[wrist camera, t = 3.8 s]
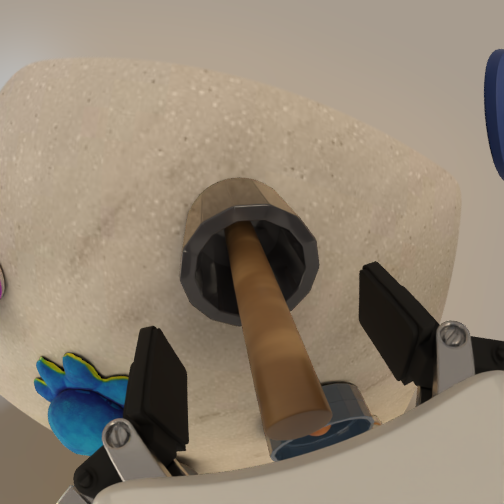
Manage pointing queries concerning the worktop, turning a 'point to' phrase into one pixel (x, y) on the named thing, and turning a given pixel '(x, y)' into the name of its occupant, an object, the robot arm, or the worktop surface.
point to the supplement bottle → (1, 284)
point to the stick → (273, 343)
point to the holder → (268, 232)
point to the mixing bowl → (342, 423)
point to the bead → (321, 431)
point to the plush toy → (80, 402)
